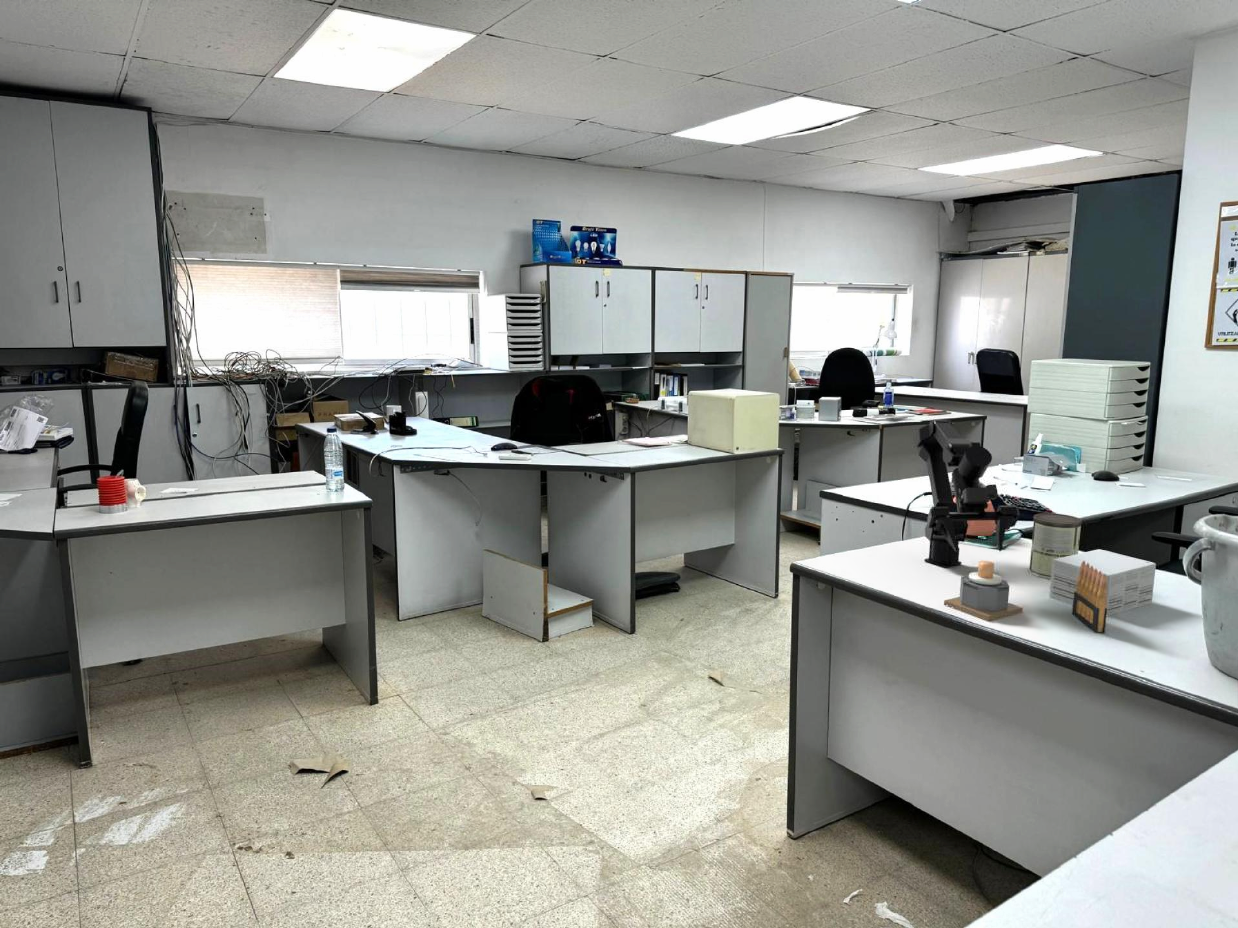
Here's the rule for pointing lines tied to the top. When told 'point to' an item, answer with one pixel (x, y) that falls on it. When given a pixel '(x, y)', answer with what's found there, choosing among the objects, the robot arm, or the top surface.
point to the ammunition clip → (1091, 598)
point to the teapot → (981, 524)
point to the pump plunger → (985, 574)
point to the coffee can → (1052, 541)
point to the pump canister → (984, 600)
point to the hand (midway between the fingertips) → (978, 550)
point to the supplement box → (1123, 574)
